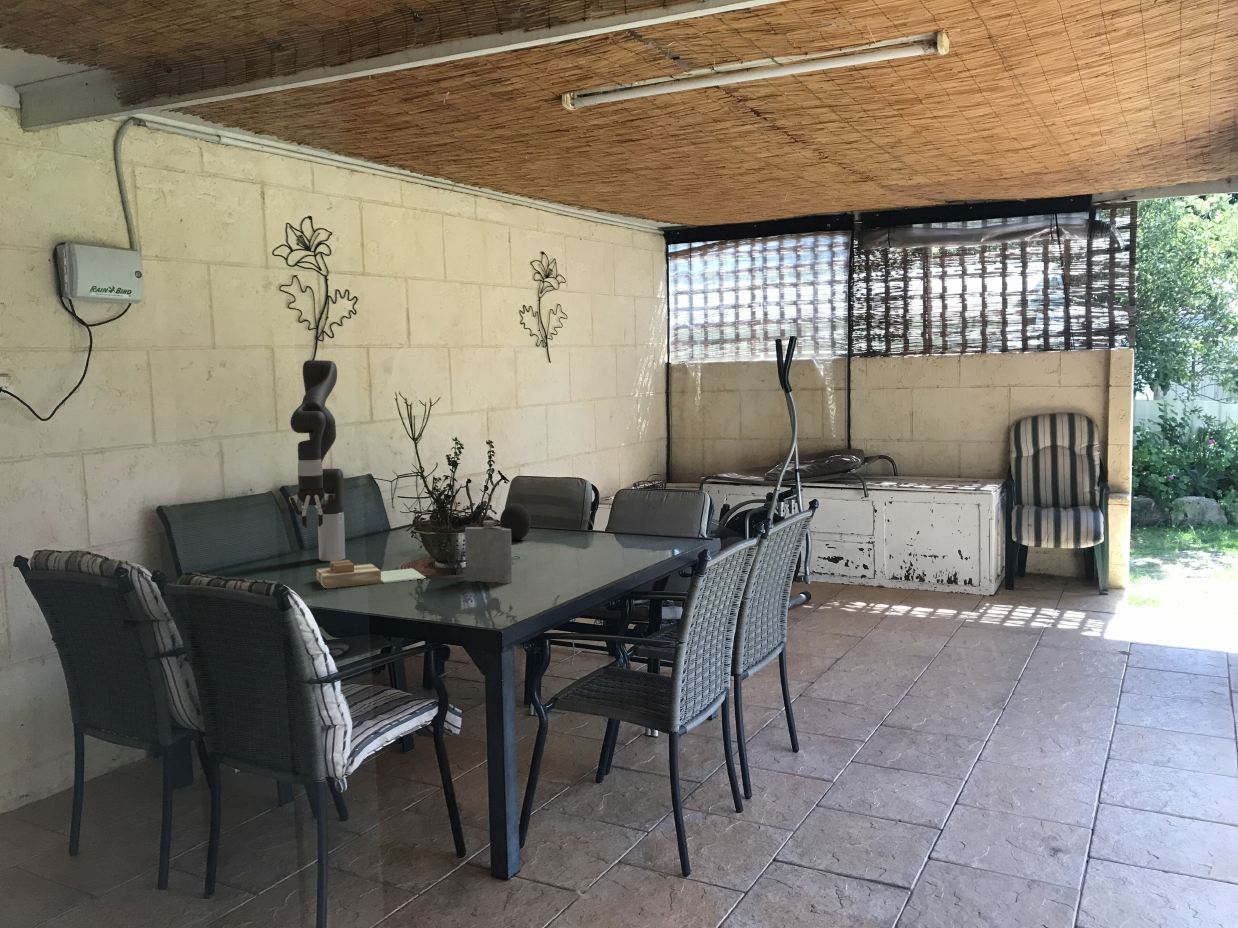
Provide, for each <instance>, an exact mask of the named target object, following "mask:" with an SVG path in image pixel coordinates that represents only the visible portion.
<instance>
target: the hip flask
mask: <svg viewBox="0 0 1238 928" xmlns="http://www.w3.org/2000/svg"><path fill="white" fill-rule="evenodd" d="M482 523H483V527H482V526H481V527H480V526H479V527H477V526H476V527H475V526H468V527H467V526H466V527H465V528H464V538H465V540H464V542H465V543H464V545H465V546H464V548H465V549H464V550H465V554H464V555H465V581H466V582H475V581H481V582H483V583H495V582H497V584H498V583H499V584H505V583H508V584H511V583H512V582H513V571H512V570H513V566H512V565H513V564H512V563H513V562H512V561H513V559H512V554H513V553H512V540H511V529H506V528H501V527H500V526H495V525H494V524H495V521H494V520H483V521H482ZM481 582H480V583H481Z"/></svg>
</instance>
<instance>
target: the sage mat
mask: <svg viewBox="0 0 1238 928" xmlns="http://www.w3.org/2000/svg"><path fill="white" fill-rule="evenodd" d="M426 577H427V576H425V575H423V574H422V573H420V572H419V571H417V570H416V569H414V568H411V567H410V568H405V569H404V568H402V569H393V570H392V569H391V570H384V571H383V570H382V571H381V583H383V584H392V583H400V582H402V581H403V582H408V581H409V580H412V581H417V579H421V580H425V579H424V578H426ZM426 579H427V578H426ZM409 582H410V581H409Z"/></svg>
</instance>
